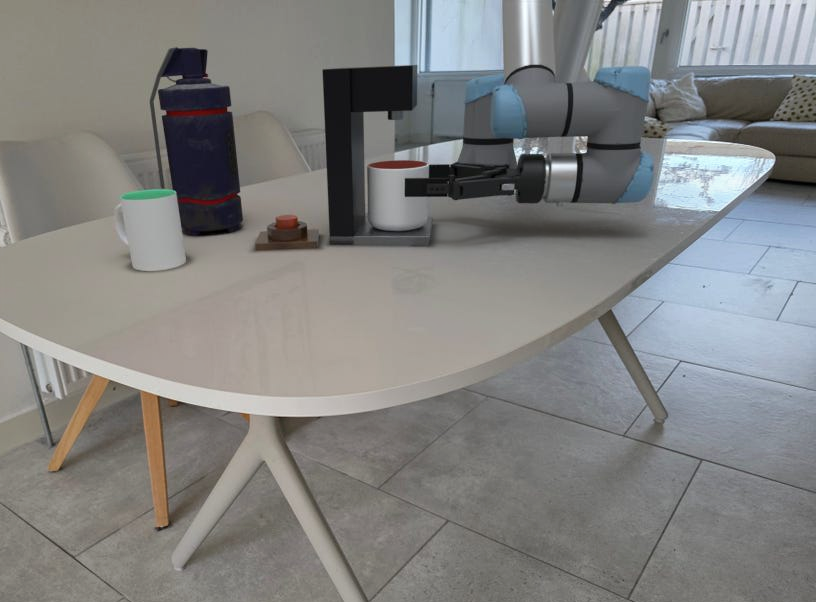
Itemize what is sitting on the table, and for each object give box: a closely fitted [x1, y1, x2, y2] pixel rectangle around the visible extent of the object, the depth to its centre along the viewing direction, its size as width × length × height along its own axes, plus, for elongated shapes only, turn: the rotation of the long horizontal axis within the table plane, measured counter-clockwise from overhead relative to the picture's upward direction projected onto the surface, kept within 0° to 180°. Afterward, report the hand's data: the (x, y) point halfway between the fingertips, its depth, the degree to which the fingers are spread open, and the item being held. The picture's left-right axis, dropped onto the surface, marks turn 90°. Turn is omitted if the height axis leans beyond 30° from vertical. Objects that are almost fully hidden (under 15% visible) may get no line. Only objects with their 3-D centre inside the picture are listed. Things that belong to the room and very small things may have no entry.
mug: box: [113, 188, 187, 272], centre depth 94 cm, size 12×8×10 cm, turn 61°
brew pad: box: [254, 220, 320, 252], centre depth 102 cm, size 10×8×3 cm
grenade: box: [149, 46, 244, 237], centre depth 108 cm, size 14×12×30 cm
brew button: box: [275, 214, 299, 229], centre depth 102 cm, size 4×4×2 cm
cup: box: [366, 159, 430, 231], centre depth 103 cm, size 10×10×10 cm
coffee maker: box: [322, 64, 433, 247], centre depth 100 cm, size 16×14×26 cm
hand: (407, 179), depth 101 cm, fingers open, 13 cm apart
